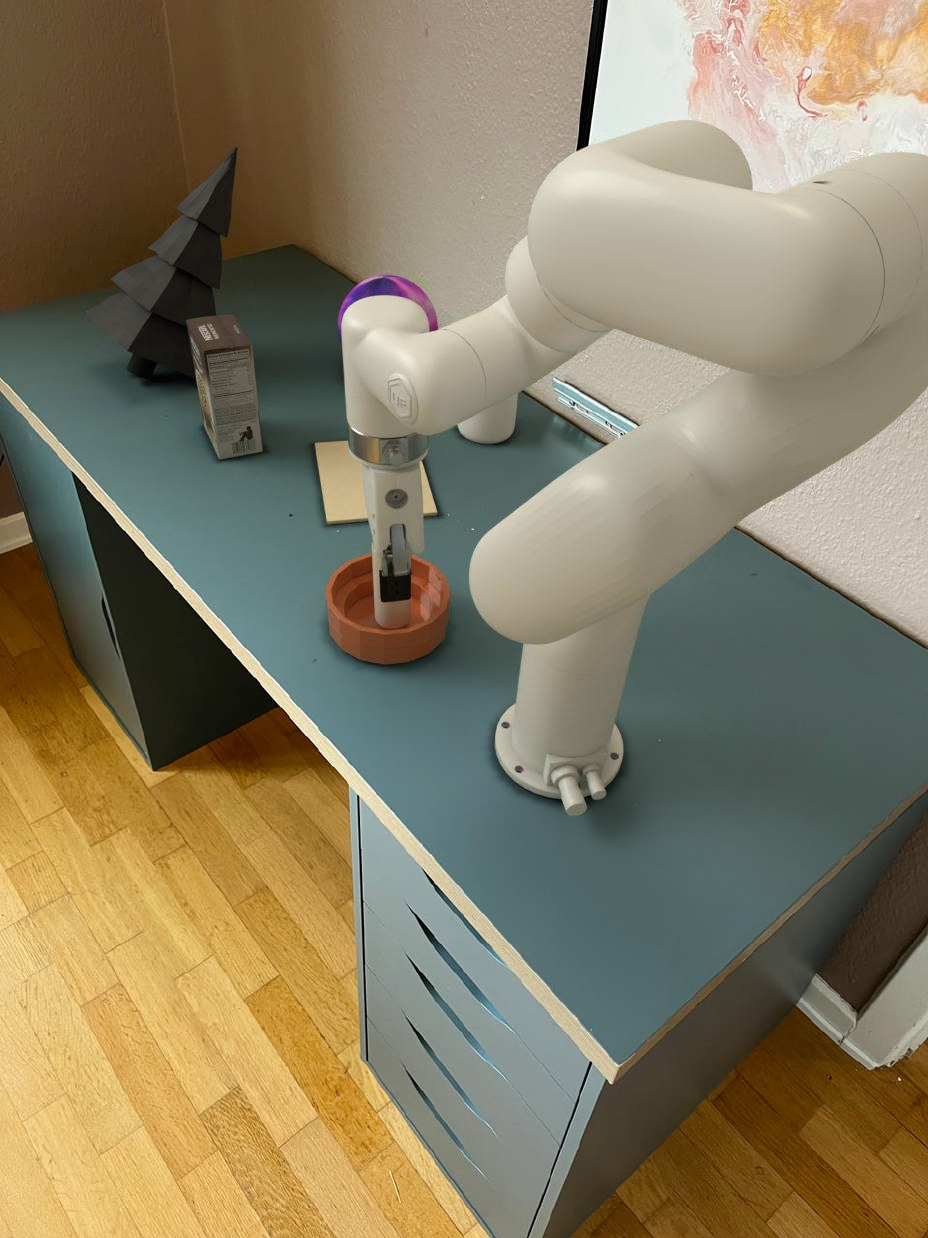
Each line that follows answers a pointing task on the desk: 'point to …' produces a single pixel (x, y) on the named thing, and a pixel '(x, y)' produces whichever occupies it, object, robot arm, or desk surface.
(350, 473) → the mat
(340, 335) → the decorative orb
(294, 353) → the desk surface
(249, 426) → the coffee box
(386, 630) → the bowl
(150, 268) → the decorative tree
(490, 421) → the cup
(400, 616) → the cream cylinder
